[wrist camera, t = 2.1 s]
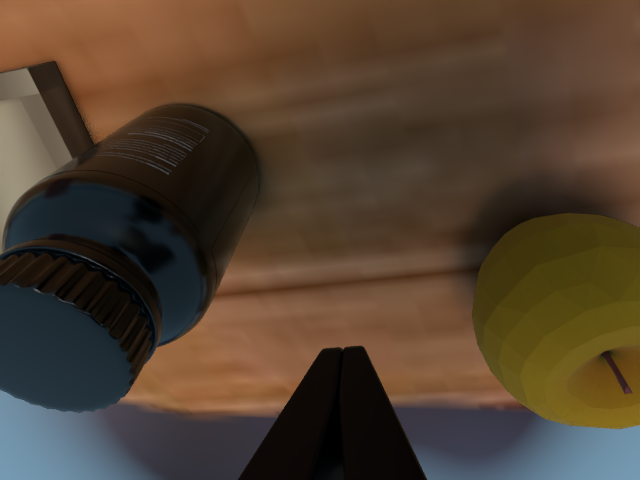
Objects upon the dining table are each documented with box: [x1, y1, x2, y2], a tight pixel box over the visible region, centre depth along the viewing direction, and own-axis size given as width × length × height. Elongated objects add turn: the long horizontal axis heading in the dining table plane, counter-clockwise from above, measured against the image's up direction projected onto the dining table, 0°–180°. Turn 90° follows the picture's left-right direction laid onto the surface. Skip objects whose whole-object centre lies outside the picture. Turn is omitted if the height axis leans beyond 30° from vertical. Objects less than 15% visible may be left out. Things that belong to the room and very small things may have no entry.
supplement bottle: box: [0, 105, 259, 413], centre depth 16 cm, size 7×7×12 cm
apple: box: [472, 213, 640, 429], centre depth 18 cm, size 8×8×9 cm
